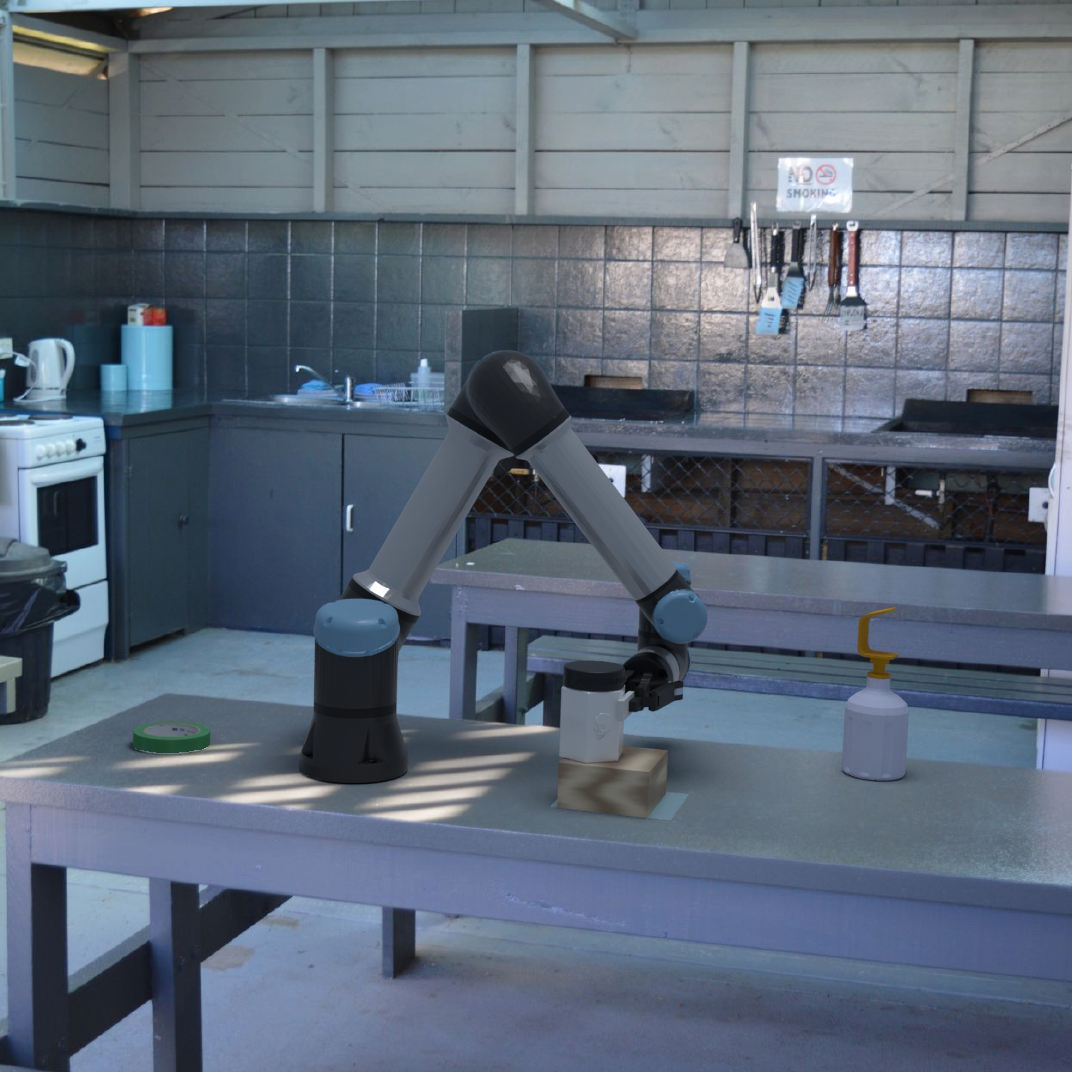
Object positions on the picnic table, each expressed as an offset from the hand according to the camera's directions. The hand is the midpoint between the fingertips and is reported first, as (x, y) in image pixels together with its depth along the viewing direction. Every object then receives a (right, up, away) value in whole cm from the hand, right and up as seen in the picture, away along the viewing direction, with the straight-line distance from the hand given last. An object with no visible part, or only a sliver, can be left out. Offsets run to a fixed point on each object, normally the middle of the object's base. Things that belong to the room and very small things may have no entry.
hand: (611, 710), depth 192 cm
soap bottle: (+40, -12, +25) cm, 48 cm away
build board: (+2, -13, +5) cm, 14 cm away
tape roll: (-64, -9, +27) cm, 70 cm away
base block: (0, -12, +5) cm, 13 cm away
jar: (-2, -7, +4) cm, 8 cm away
